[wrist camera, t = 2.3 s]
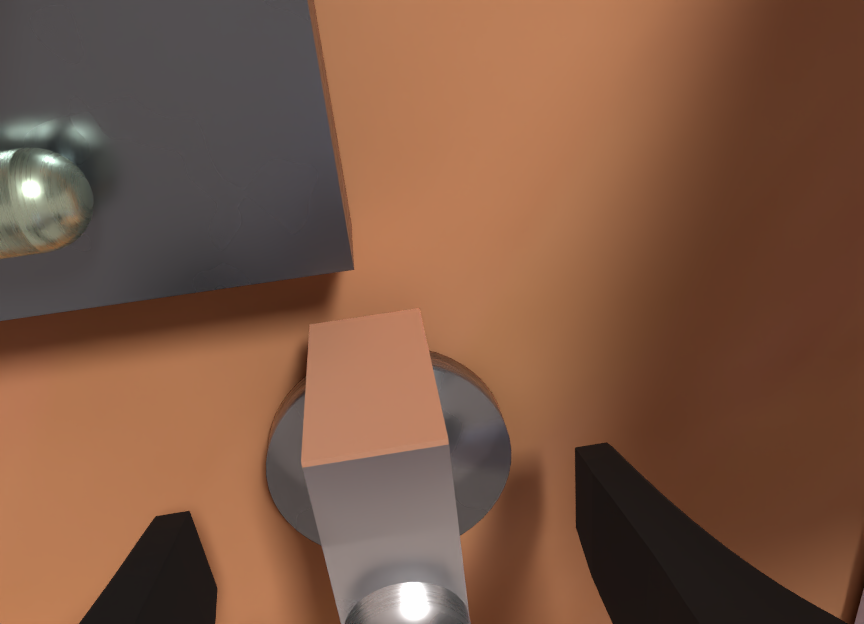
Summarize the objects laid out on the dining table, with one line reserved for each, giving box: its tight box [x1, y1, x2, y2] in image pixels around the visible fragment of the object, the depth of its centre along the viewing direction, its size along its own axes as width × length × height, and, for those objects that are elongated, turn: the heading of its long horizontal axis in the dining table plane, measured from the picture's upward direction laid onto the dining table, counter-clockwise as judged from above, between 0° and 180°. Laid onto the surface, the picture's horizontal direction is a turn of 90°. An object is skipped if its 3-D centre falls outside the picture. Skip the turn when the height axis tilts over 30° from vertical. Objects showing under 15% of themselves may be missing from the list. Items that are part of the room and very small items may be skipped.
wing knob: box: [266, 308, 511, 624], centre depth 13 cm, size 7×5×5 cm
